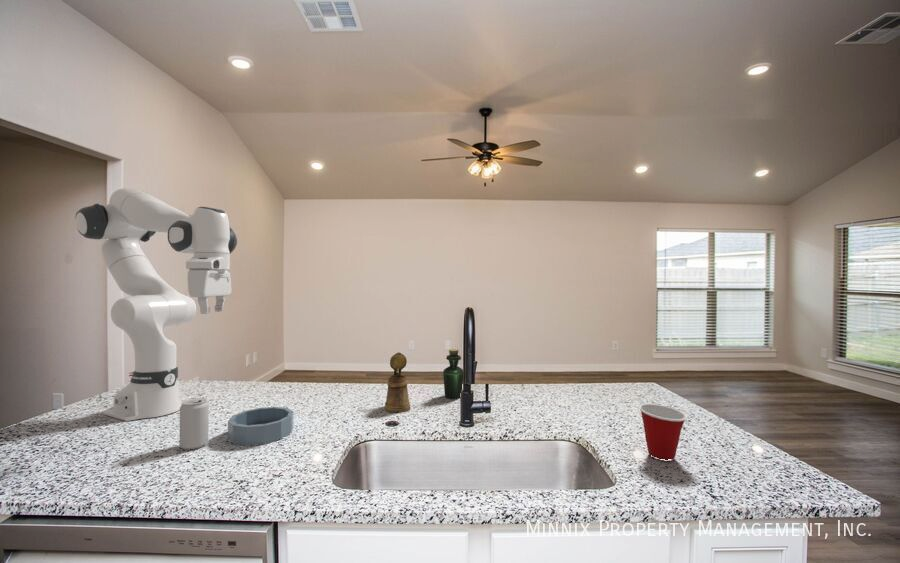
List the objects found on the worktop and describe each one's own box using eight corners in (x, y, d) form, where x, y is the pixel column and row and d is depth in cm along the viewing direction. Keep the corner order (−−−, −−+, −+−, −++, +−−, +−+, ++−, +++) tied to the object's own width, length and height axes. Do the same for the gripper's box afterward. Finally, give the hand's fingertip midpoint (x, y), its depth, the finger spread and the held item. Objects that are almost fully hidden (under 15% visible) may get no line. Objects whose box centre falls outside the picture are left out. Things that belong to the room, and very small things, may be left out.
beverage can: (194, 452, 99) (194, 405, 99) (173, 449, 100) (173, 403, 100) (213, 442, 105) (214, 398, 105) (193, 440, 107) (194, 396, 107)
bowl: (214, 441, 106) (214, 423, 106) (258, 420, 122) (258, 404, 122) (265, 448, 102) (265, 429, 102) (304, 426, 117) (304, 409, 117)
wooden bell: (410, 400, 145) (411, 352, 145) (410, 412, 131) (410, 359, 131) (386, 400, 144) (386, 352, 144) (383, 413, 130) (384, 359, 130)
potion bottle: (447, 392, 155) (448, 347, 155) (466, 395, 152) (467, 349, 152) (439, 398, 148) (439, 350, 148) (459, 400, 144) (459, 352, 145)
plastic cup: (686, 471, 91) (687, 420, 91) (636, 459, 97) (636, 411, 97) (687, 454, 100) (687, 407, 101) (641, 444, 106) (641, 400, 106)
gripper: (215, 265, 120) (215, 310, 120) (182, 261, 100) (182, 315, 100) (237, 265, 121) (237, 310, 121) (209, 261, 101) (209, 314, 101)
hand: (212, 312), depth 110 cm, fingers open, 8 cm apart
